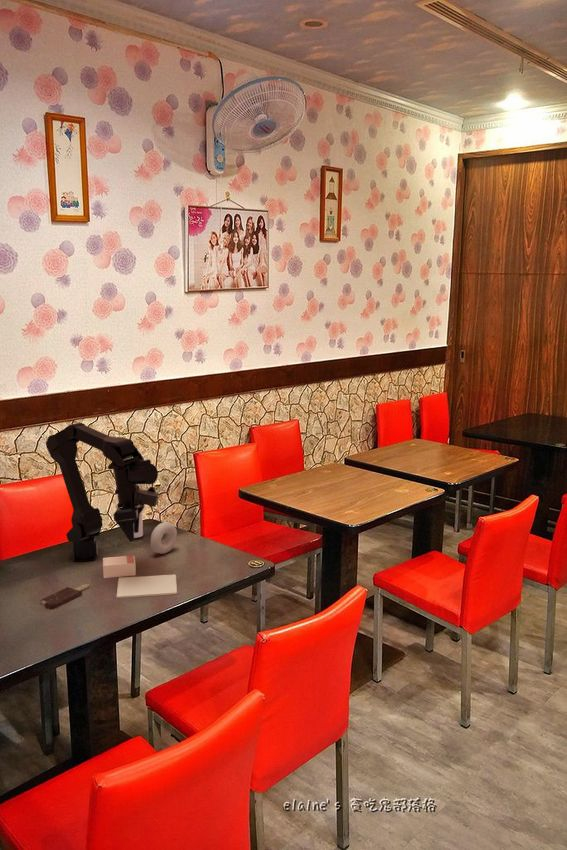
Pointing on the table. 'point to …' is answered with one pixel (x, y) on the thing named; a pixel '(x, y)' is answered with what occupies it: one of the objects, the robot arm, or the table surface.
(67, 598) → the ice cream bar
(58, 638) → the table surface
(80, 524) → the robot arm
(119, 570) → the card deck
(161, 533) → the donut
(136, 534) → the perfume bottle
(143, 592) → the mat
